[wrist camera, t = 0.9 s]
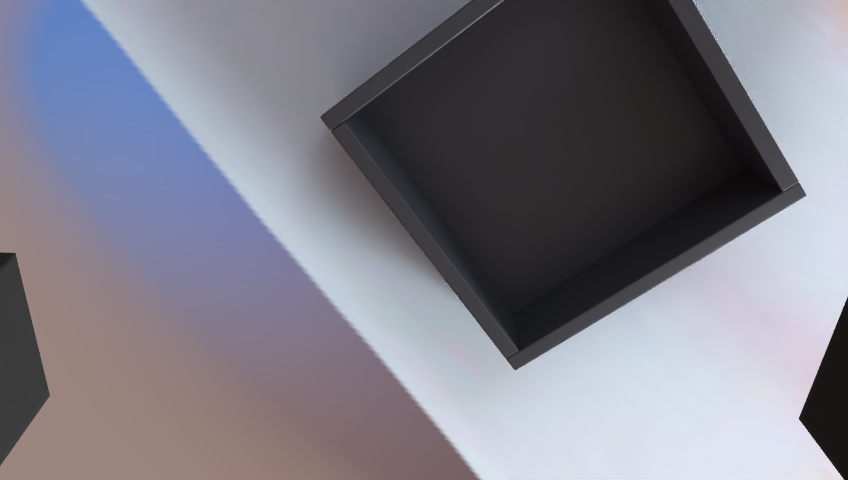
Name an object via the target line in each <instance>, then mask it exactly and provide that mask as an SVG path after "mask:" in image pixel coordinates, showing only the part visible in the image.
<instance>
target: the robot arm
mask: <svg viewBox="0 0 848 480" xmlns="http://www.w3.org/2000/svg"><path fill="white" fill-rule="evenodd" d="M49 396H50V395H49V390H48V386H47V382H46V378H45V374H44V370H43V366H42V362H41V358H40V353H39V349H38V345H37V341H36V337H35V333H34V329H33V325H32V320H31V316H30V312H29V308H28V304H27V300H26V296H25V291H24V287H23V283H22V279H21V275H20V271H19V267H18V262H17V258H16V254H15V253H0V465H1V464H2V462H3V461H4V460H5V458H6V457H7V455H8V454H9V452H10V451H11V450H12V448H13V447H14V446H15V444H16V443H17V441H18V440H19V438H20V437H21V436H22V434H23V433H24V431H25V430H26V428H27V427H28V426H29V424H30V423H31V422H32V420H33V419H34V417H35V416H36V414H37V413H38V412H39V410H40V409H41V407H42V406H43V405H44V403H45V402H46V400H47V399H48V398H49ZM799 420H800V421H801V422H802V424H803V425H804V426H805V428H806V429H807V430H808V432H809V433H810V434H811V436H812V437H813V438H814V440H815V441H816V442H817V444H818V445H819V446H820V448H821V449H822V450H823V452H824V453H825V454H826V456H827V457H828V458H829V460H830V461H831V462H832V464H833V465H834V467H835V468H836V469H837V471H838V472H839V473H840V475H841V476H842V477H843V479H844V480H848V298H847V300H846V302H845V305H844V307H843V310H842V312H841V315H840V317H839V320H838V322H837V325H836V327H835V330H834V332H833V335H832V337H831V340H830V342H829V345H828V347H827V350H826V352H825V355H824V357H823V360H822V362H821V365H820V367H819V370H818V372H817V375H816V377H815V380H814V382H813V385H812V387H811V390H810V392H809V394H808V397H807V399H806V402H805V404H804V407H803V409H802V412H801V414H800V417H799Z"/></svg>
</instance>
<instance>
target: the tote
mask: <svg viewBox="0 0 848 480" xmlns="http://www.w3.org/2000/svg"><path fill="white" fill-rule="evenodd" d="M321 119H322V121H323V122H324V123H325V125H326V126H327V127H328V128H329V130H332V134H333V135H334V136H335V138H336V139H337V140H338V141H339V143H340V144H341V145H342V147H343V148H344V149H345V151H346V152H347V153H348V154H349V156H350V157H351V158H352V160H353V161H354V162H355V164H356V165H357V166H358V167H359V169H360V170H361V171H362V173H363V174H364V175H365V177H366V178H367V179H368V180H369V182H370V183H371V184H372V186H373V187H374V188H375V190H376V191H377V192H378V193H379V195H380V196H381V197H382V199H383V200H384V201H385V202H386V204H387V205H388V206H389V208H390V209H391V210H392V212H393V213H394V214H395V215H396V217H397V218H398V219H399V221H400V222H401V223H402V225H403V226H404V227H405V228H406V230H407V231H408V232H409V234H410V235H411V236H412V238H413V239H414V240H415V241H416V243H417V244H418V245H419V247H420V248H421V249H422V251H423V252H424V253H425V254H426V256H427V257H428V258H429V260H430V261H431V262H432V263H433V265H434V266H435V267H436V269H437V270H438V271H439V273H440V274H441V275H442V276H443V278H444V279H445V280H446V282H447V283H448V284H449V286H450V287H451V288H452V289H453V291H454V292H455V293H456V295H457V296H458V297H459V299H460V300H461V301H462V302H463V304H464V305H465V306H466V308H467V309H468V310H469V312H470V313H471V314H472V315H473V317H474V318H475V319H476V321H477V322H478V323H479V324H480V326H481V327H482V328H483V330H484V331H485V332H486V334H487V335H488V336H489V337H490V339H491V340H492V341H493V343H494V344H495V345H496V347H497V348H498V349H499V350H500V352H501V353H502V354H503V356H504V357H505V358H506V359H507V361H508V362H509V363H510V365H511V366H512V367H513V369H514V370H517V369H518V368H520V367H522V366H523V365H525V364H527V363H528V362H530V361H532V360H533V359H535V358H537V357H538V356H540V355H542V354H543V353H545V352H547V351H549V350H550V349H552V348H554V347H555V346H557V345H559V344H560V343H562V342H564V341H565V340H567V339H569V338H570V337H572V336H574V335H575V334H577V333H579V332H580V331H582V330H584V329H585V328H587V327H589V326H590V325H592V324H594V323H595V322H597V321H599V320H600V319H602V318H604V317H605V316H607V315H609V314H610V313H612V312H614V311H615V310H617V309H619V308H620V307H622V306H624V305H625V304H627V303H629V302H631V301H632V300H634V299H636V298H637V297H639V296H641V295H642V294H644V293H646V292H647V291H649V290H651V289H652V288H654V287H656V286H657V285H659V284H661V283H662V282H664V281H666V280H667V279H669V278H671V277H672V276H674V275H676V274H677V273H679V272H681V271H682V270H684V269H686V268H687V267H689V266H691V265H692V264H694V263H696V262H697V261H699V260H701V259H702V258H704V257H706V256H707V255H709V254H711V253H713V252H714V251H716V250H718V249H719V248H721V247H723V246H724V245H726V244H728V243H729V242H731V241H733V240H734V239H736V238H738V237H739V236H741V235H743V234H744V233H746V232H748V231H749V230H751V229H753V228H754V227H756V226H758V225H759V224H761V223H763V222H764V221H766V220H768V219H769V218H771V217H773V216H774V215H776V214H778V213H779V212H781V211H783V210H784V209H786V208H788V207H789V206H791V205H793V204H795V203H796V202H798V201H800V200H801V199H803V198H805V197H806V194H805V192H804V190H803V188H802V187H801V185H800V183H798V180H797V178H796V176H795V175H794V173H793V171H792V169H791V168H790V166H789V164H788V163H787V161H786V159H785V157H784V156H783V154H782V152H781V151H780V149H779V147H778V146H777V144H776V142H775V140H774V139H773V137H772V135H771V134H770V132H769V130H768V129H767V127H766V125H765V123H764V122H763V120H762V118H761V117H760V115H759V113H758V112H757V110H756V108H755V106H754V105H753V103H752V101H751V100H750V98H749V96H748V95H747V93H746V91H745V89H744V88H743V86H742V84H741V83H740V81H739V79H738V78H737V76H736V74H735V72H734V71H733V69H732V67H731V66H730V64H729V62H728V61H727V59H726V57H725V55H724V54H723V52H722V50H721V49H720V47H719V45H718V44H717V42H716V40H715V38H714V37H713V35H712V33H711V32H710V30H709V28H708V27H707V25H706V23H705V21H704V20H703V18H702V16H701V15H700V13H699V11H698V10H697V8H696V6H695V4H694V3H693V1H692V0H472V1H470V2H469V3H468V4H466V5H465V6H464V7H462V8H461V9H460V10H459V11H457V12H456V13H455V14H453V15H452V16H451V17H449V18H448V19H447V20H446V21H444V22H443V23H442V24H440V25H439V26H438V27H436V28H435V29H434V30H432V31H431V32H430V33H429V34H427V35H426V36H425V37H423V38H422V39H421V40H419V41H418V42H417V43H416V44H414V45H413V46H412V47H410V48H409V49H408V50H406V51H405V52H404V53H402V54H401V55H400V56H399V57H397V58H396V59H395V60H393V61H392V62H391V63H389V64H388V65H387V66H386V67H384V68H383V69H382V70H380V71H379V72H378V73H376V74H375V75H374V76H373V77H371V78H370V79H369V80H367V81H366V82H365V83H363V84H362V85H361V86H359V87H358V88H357V89H356V90H354V91H353V92H352V93H350V94H349V95H348V96H346V97H345V98H344V99H343V100H341V101H340V102H339V103H337V104H336V105H335V106H333V107H332V108H331V109H329V110H328V111H327V112H326V113H324V114H323V115H322V116H321Z"/></svg>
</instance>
